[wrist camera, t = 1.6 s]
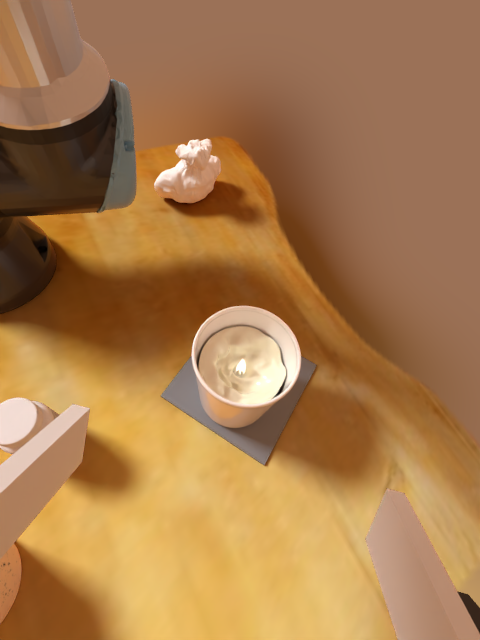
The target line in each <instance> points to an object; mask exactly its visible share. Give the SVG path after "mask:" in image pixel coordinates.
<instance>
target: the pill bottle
mask: <svg viewBox="0 0 480 640" xmlns="http://www.w3.org/2000/svg"><path fill="white" fill-rule="evenodd" d="M58 416H59V414H57V413H56V412H55V411H53V410H52V409H50V408H49V407H47V406H46V405H44V404H42V403H40V402H37V401H30V400H28V399H25V398H12V399H9V400H6V401H4V402H2V403H1V404H0V448H1V449H2V450H3V451H5V452H7V453H10V454H14V453H15V452H16V451H18V450H19V449H20V448H21V447H22V446H24V445H25V444H26V443H27V442H28V441H30V440H31V439H32V438H33V437H34V436H35V435H37V434H38V433H39V432H40V431H41V430H43V429H44V428H45V427H46V426H47V425H49V424H50V423H51V422H52V421H53V420H54V419H56V418H57V417H58Z"/></svg>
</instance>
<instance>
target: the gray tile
mask: <svg viewBox="0 0 480 640" xmlns="http://www.w3.org/2000/svg"><path fill="white" fill-rule="evenodd" d="M316 366H317V365H316V364H314V363H312V362H311V361H309V360H307V359H306V358H304V357H302V356H301V368H300V373H299V376H298V378H297V381H296V382H295V384H294V386H293V387H292V389H291V390H290V391H289V392H288V393H287V394H286V395H285V396H284V397H283V398H281V399H280V400H279V401H277V402H276V403H275V404H274V405H273V406H272V407H271V408H270V409H269V410H268V411H267V412H266V413H265V414H264V415H263V416H262V417H261V418H259V419H258V420H257V421H256V422H254V423H252V424H250V425H248V426H245V427H241V428H229V427H225V426H222V425H220V424H218V423H216V422H214V421H213V420H212V419H211V418H210V417H209V416H208V415H207V414H206V412H205V411H204V409H203V407H202V405H201V402H200V398H199V393H198V388H197V382H196V376H195V371H194V368H193V364H192V356H191V357H190V358H189V360H188V361H187V362H186V363H185V365H184V366H183V367H182V369H181V370H180V371H179V373H178V374H177V375H176V377H175V378H174V379H173V380H172V382H171V383H170V384H169V386H168V387H167V388H166V390H165V391H164V392H163V394H162V395H161V397H162V398H164V399H165V400H167V401H168V402H170V403H171V404H173V405H174V406H176V407H177V408H179V409H180V410H182V411H183V412H185V413H186V414H188V415H189V416H191V417H192V418H194V419H195V420H197V421H198V422H200V423H201V424H203V425H204V426H206V427H207V428H209V429H210V430H212V431H213V432H215V433H216V434H218V435H219V436H221V437H222V438H224V439H225V440H227V441H228V442H230V443H231V444H233V445H234V446H236V447H237V448H239V449H240V450H242V451H243V452H245V453H246V454H248V455H249V456H251V457H252V458H254V459H255V460H257V461H258V462H260V463H261V464H263V465H265V463H266V461H267V459H268V457H269V456H270V454H271V452H272V450H273V448H274V446H275V444H276V442H277V440H278V438H279V436H280V435H281V433H282V431H283V429H284V427H285V425H286V423H287V421H288V419H289V417H290V415H291V414H292V412H293V410H294V408H295V406H296V404H297V402H298V400H299V398H300V396H301V394H302V393H303V391H304V389H305V387H306V385H307V383H308V381H309V379H310V377H311V375H312V374H313V372H314V370H315V368H316Z"/></svg>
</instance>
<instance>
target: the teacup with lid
mask: <svg viewBox="0 0 480 640" xmlns="http://www.w3.org/2000/svg"><path fill="white" fill-rule="evenodd" d="M21 573H22V566H21V559H20V555H19V552H18V549H17V547H16V546H15V544H13V545H12V546H11V547H10V548H9V550H8V551H7V552H6V553H5V554H4V556H3V557H2V558H1V559H0V624H1V622H2V621H3V620H4V618H5V617H6V615H7V614H8V612H9V611H10V609H11V607H12V605H13V603H14V601H15V598H16V596H17V593H18V590H19V586H20V582H21Z"/></svg>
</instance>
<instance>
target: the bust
mask: <svg viewBox="0 0 480 640" xmlns="http://www.w3.org/2000/svg"><path fill="white" fill-rule="evenodd" d="M211 148H212V145H211V141H210V140H209V139H205V140H202V141H199V139H197V140H190V141H189V143H188V145H187V146H185V145H184V144H182V145H180V146H178V149H176V154H177V156H179V158H180V159H182V160H181V161H180V162H179V163H178V164H177V165H176V167H174V168H171V169H170V170H166V171H163V172H162V173H161V174H160V175H159V177H158V178H157V180H156V182H155V183H154V187H155V190H156V192H157V194H158V195H159V196H160V197H163V198H172V199H174V200H175V201H176V202H179V203H194V202H197V201H200V200H202V199H204V198H205V197H206V196H207V195H208V193H210V192H211V191H212V190H213V188H214V183H215V180H216V178H217V176H218V175H219V173H220V172H221V168H220V165H221V162H220V160H219V158H217V157H215V156H210V152H211Z"/></svg>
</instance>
